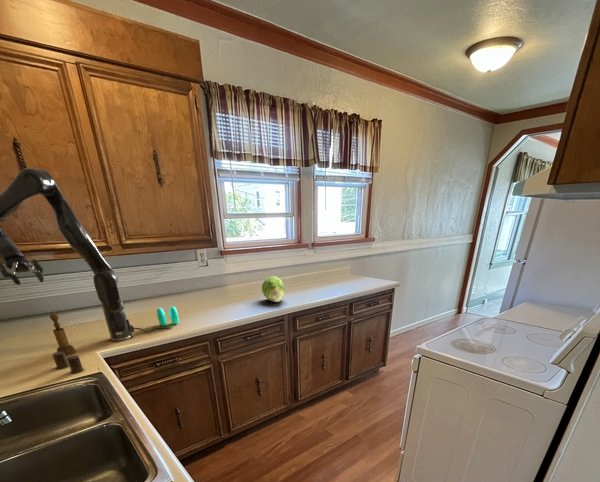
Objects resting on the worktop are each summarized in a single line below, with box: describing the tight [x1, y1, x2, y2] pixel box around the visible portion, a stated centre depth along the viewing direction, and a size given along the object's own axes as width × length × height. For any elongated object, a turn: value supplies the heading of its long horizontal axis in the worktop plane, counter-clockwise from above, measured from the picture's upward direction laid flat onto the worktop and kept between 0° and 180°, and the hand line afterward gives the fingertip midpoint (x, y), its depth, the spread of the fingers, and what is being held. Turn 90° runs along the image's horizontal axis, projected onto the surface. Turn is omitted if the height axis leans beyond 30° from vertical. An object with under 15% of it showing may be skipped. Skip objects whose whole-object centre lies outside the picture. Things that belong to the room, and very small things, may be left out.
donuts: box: [156, 306, 180, 327], centre depth 185 cm, size 10×10×10 cm
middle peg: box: [52, 351, 70, 370], centre depth 133 cm, size 4×4×6 cm
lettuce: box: [261, 275, 286, 303], centre depth 236 cm, size 17×23×16 cm
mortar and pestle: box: [49, 313, 76, 356], centre depth 144 cm, size 7×6×18 cm
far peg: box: [66, 354, 84, 374], centre depth 129 cm, size 4×4×6 cm
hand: (31, 282), depth 139 cm, fingers open, 8 cm apart
